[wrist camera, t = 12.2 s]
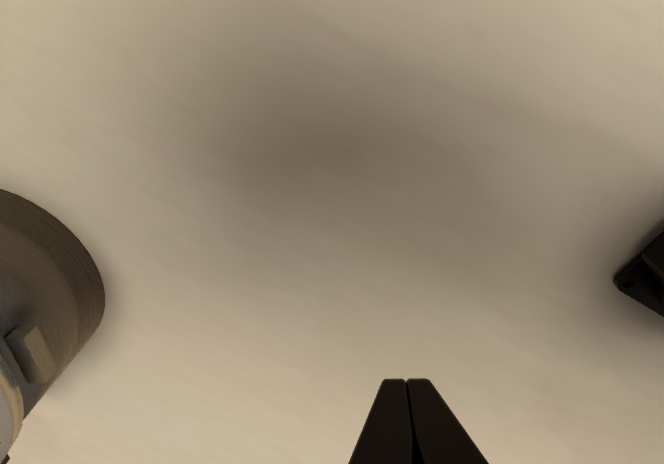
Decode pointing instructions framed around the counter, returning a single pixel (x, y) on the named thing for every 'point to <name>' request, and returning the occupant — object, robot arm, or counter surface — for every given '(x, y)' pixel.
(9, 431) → the cooker lid
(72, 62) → the counter surface
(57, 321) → the cooker pot
